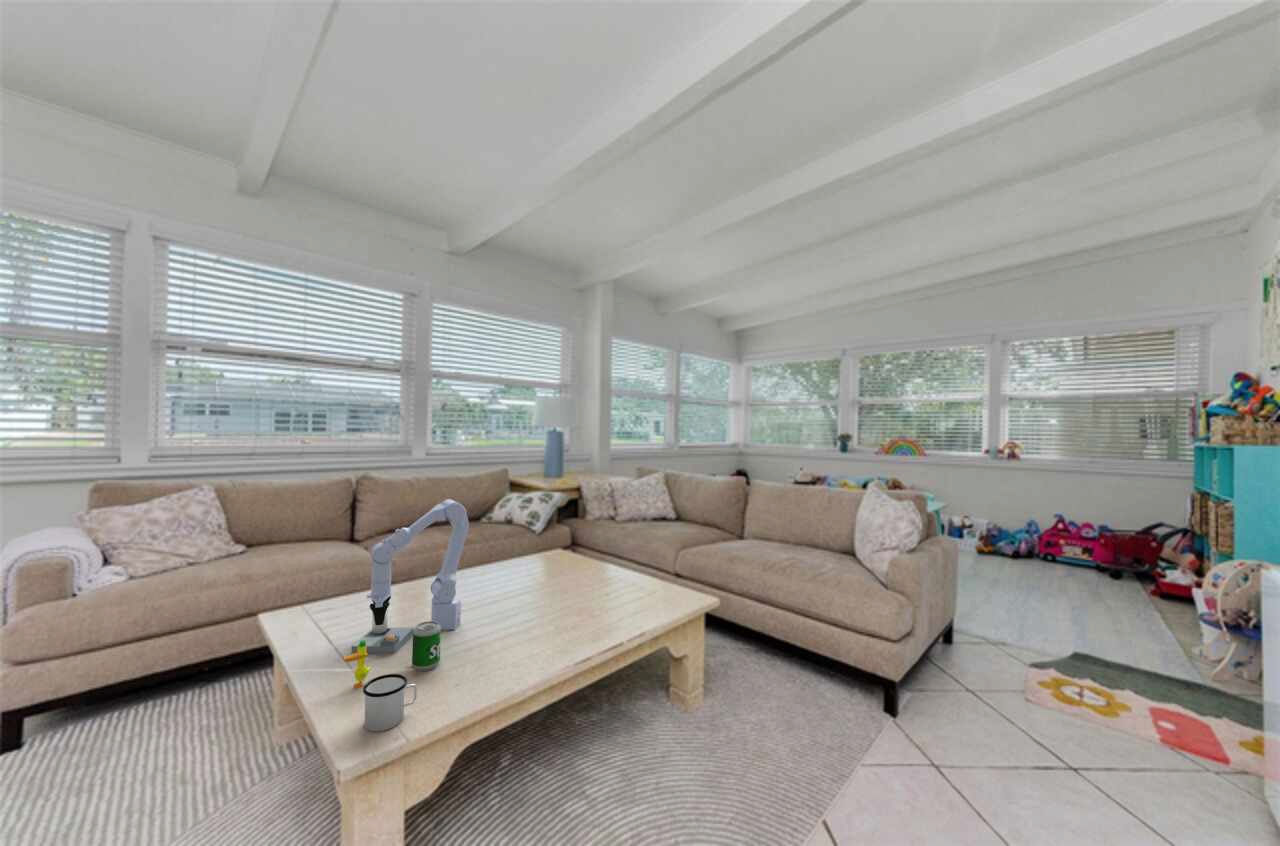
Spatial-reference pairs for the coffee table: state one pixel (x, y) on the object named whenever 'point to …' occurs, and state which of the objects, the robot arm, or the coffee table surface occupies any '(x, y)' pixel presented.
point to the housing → (378, 642)
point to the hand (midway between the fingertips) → (380, 621)
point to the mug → (385, 701)
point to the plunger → (390, 638)
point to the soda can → (426, 646)
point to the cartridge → (380, 627)
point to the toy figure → (359, 663)
